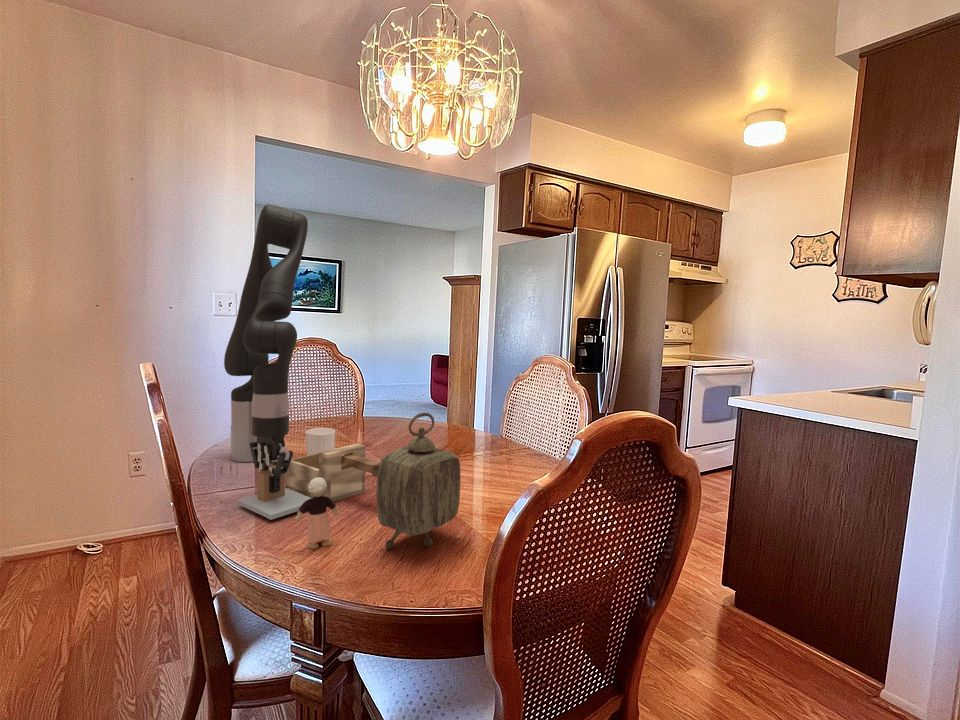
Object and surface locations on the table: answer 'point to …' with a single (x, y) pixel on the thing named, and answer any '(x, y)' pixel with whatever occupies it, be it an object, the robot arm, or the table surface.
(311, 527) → the grandmother figurine
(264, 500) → the lid
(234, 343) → the robot arm
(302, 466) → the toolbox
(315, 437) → the white cup
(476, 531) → the table surface
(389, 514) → the tabletop clock
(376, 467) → the bar
